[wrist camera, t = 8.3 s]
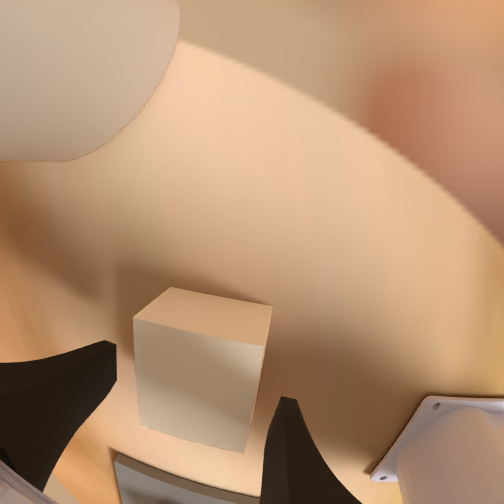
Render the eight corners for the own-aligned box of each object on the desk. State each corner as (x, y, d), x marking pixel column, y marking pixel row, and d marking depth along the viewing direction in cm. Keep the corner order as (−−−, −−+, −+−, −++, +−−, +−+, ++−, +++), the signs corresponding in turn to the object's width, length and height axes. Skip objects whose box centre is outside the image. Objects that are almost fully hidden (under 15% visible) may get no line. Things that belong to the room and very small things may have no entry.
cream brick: (273, 304, 14) (264, 346, 10) (255, 401, 15) (243, 453, 11) (171, 285, 15) (132, 316, 11) (169, 382, 16) (141, 425, 12)
